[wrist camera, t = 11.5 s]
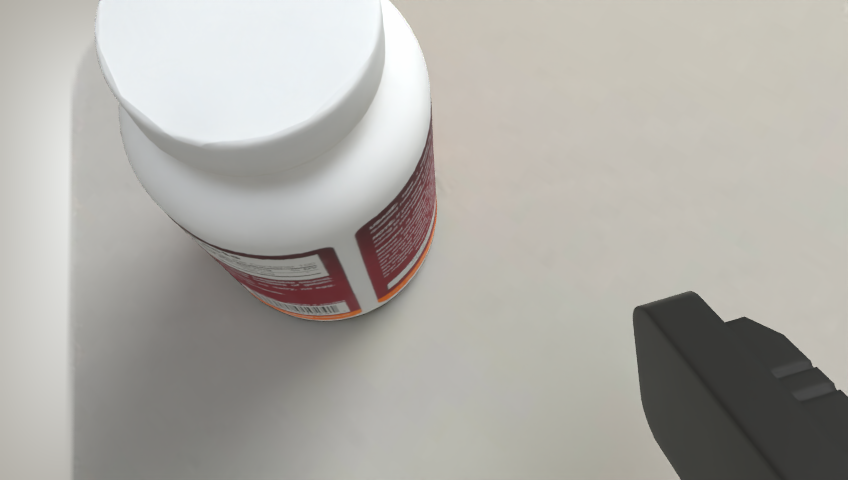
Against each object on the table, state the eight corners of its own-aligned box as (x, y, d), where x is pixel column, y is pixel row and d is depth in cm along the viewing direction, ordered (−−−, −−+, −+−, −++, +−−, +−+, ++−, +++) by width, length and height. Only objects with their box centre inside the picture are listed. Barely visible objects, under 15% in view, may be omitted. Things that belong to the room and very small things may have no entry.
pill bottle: (375, 89, 25) (327, -202, 14) (475, 260, 23) (505, 78, 13) (189, 181, 24) (-8, -52, 13) (279, 365, 22) (136, 265, 12)
